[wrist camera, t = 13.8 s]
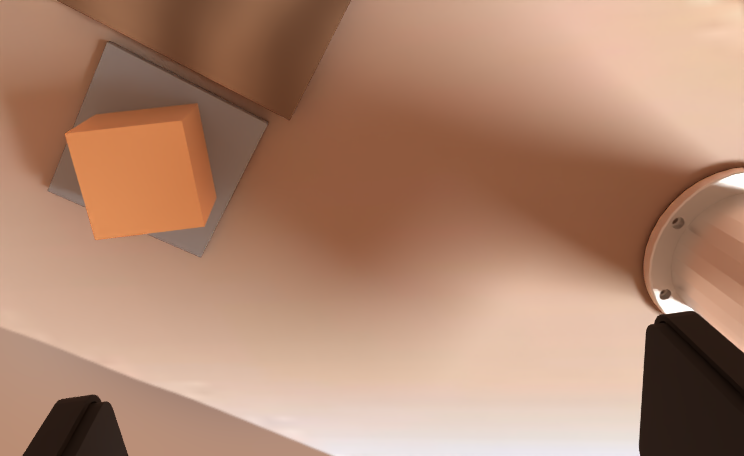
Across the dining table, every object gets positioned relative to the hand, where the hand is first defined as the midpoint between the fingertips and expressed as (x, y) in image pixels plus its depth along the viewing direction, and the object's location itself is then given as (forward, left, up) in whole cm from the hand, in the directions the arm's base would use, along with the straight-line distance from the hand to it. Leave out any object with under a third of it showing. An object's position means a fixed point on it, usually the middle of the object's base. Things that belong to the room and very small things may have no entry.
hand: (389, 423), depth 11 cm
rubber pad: (+8, +8, -30) cm, 32 cm away
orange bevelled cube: (+8, +8, -29) cm, 31 cm away
